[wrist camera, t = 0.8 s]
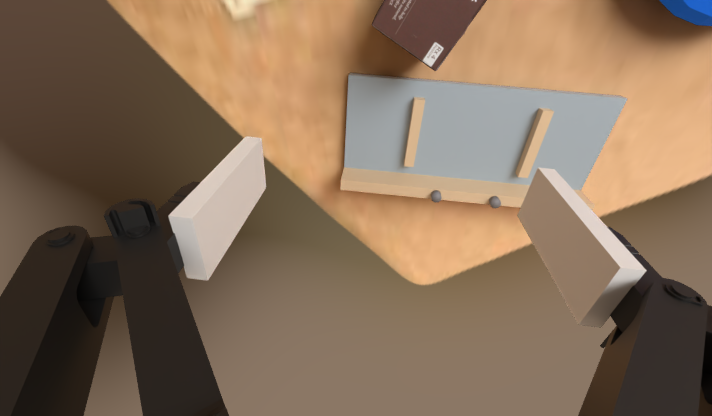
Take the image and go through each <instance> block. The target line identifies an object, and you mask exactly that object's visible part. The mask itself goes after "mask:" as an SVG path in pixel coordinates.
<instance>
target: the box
mask: <svg viewBox="0 0 712 416" xmlns="http://www.w3.org/2000/svg"><path fill="white" fill-rule="evenodd" d="M486 1H487V0H384V1H383V3H382V5H381V7H380V9H379V11H378V13H377V15H376V16H375V19H374V21H373V23H372V26H373V27H375V28H376V29H377V30H378V31H380V32H381V33H382V34H384V35H385V36H387V37H388V38H390V39H391V40H392V41H394V42H395V43H397V44H398V45H399V46H401V47H402V48H404V49H405V50H406V51H408V52H409V53H410V54H412V55H413V56H415V57H416V58H418V59H419V60H420V61H422V62H423V63H424V64H426V65H427V66H429V67H430V68H431V69H433V70H434V71H437V70H438V68H439V67H440V65H441V64H442V63H443V61H444V60H445V59H446V57H447V56H448V54H449V53H450V51H451V50H452V48H453V47H454V46H455V44H456V43H457V41H458V40H459V39H460V38H461V37H462V36H463V34H464V33H465V31H466V29H467V27H468V26H469V24H470V23H471V22H472V20H473V19H474V17H475V16H476V15H477V13H478V12H479V10H480V9H481V8H482V6H483V5H484V4H485V2H486Z"/></svg>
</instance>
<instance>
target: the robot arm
mask: <svg viewBox="0 0 712 416" xmlns="http://www.w3.org/2000/svg"><path fill="white" fill-rule="evenodd" d="M265 188H266V181H265V170H264V159H263V148H262V138H256V137H245V138H244V139H243V140H242V141H241V142H240V143H239V144H238V145H237V146H236V147H235V148H234V149H233V150H232V151H231V152H230V153H229V154H228V155H227V156H226V157H225V158H224V159H223V160H222V161H221V163H219V164H218V165H217V166H216V167H215V169H214V170H213V171H212V172H211V173H210V174H209V175H208V176H207V177H206V178H205V179H204V180H203V181H202V182H192V183H190V184H187V185H185V186H183V187H181V188H180V189H179V190H178V191H177V192H176V193H175V194H174V196H172V197H171V198H170V199H169V200H168V202H166V203H165V204H164V205H163V206H161V208H159V209H158V210H157V211H156V209H155V206H154V204H153V203H152V202H151V201H149V200H147V199H130V200H125V201H123V202H119V203H117V204H115V205H113V206H111V207H110V208H109V209H108V210H106V212H105V214H104V217H105V220H106V222H107V224H108V227H109V229H110V231H111V233H112V236H103V237H92V238H90V236H89V234H88V232H87V230H85V229H84V228H83V227H80V226H65V227H60V228H56V229H54V230H50V231H48V232H46V233H44V234H43V235H41V236H39V237H38V238H37V239H36V240H35V241H34V242H33V244H32V245H31V247H30V249H29V250H28V252H27V254H26V255H25V257H24V259H23V260H22V262H21V263H20V265H19V267H18V268H17V270H16V272H15V274H14V275H13V277H12V278H11V280H10V282H9V283H8V285H7V287H6V288H5V290H4V291H3V293H2V295H1V296H0V416H83V415H84V411H85V407H86V404H87V400H88V396H89V392H90V388H91V384H92V380H93V376H94V372H95V369H96V365H97V361H98V357H99V353H100V349H101V345H102V341H103V338H104V333H105V330H106V325H107V322H108V318H109V314H110V310H111V306H112V302H113V299H114V296H121V295H123V298H124V304H125V310H126V316H127V322H128V328H129V334H130V340H131V346H132V352H133V358H134V364H135V370H136V376H137V382H138V388H139V394H140V400H141V406H142V412H143V416H229V414H228V412H227V409H226V407H225V405H224V402H223V399H222V396H221V394H220V391H219V388H218V385H217V382H216V379H215V377H214V374H213V371H212V368H211V365H210V362H209V360H208V357H207V354H206V351H205V348H204V346H203V343H202V340H201V338H200V334H199V331H198V329H197V326H196V323H195V320H194V317H193V315H192V312H191V309H190V306H189V303H188V300H187V298H186V295H185V292H184V289H183V286H182V283H181V280H180V278H179V275H178V273H179V272H180V270H181V269H182V267H183V266H184V269H185V273H186V276H187V278H192V279H200V280H208V279H209V278H210V276H211V275H212V273H213V272H214V270H215V268H216V267H217V265H218V263H219V262H220V260H221V259H222V257H223V256H224V254H225V252H226V251H227V249H228V248H229V246H230V244H231V243H232V241H233V240H234V238H235V236H236V234H237V233H238V232H239V230H240V228H241V227H242V225H243V224H244V222H245V220H246V219H247V217H248V216H249V214H250V213H251V211H252V209H253V208H254V206H255V204H256V203H257V201H258V200H259V198H260V196H261V195H262V193H263V192H264V190H265ZM517 216H518V218H519V219H520V221H521V223H522V225H523V227H524V228H525V230H526V232H527V234H528V236H529V237H530V239H531V241H532V243H533V244H534V246H535V248H536V250H537V252H538V253H539V255H540V257H541V259H542V260H543V262H544V264H545V266H546V268H547V269H548V271H549V273H550V275H551V276H552V278H553V280H554V282H555V284H556V286H557V287H558V289H559V291H560V293H561V294H562V296H563V298H564V300H565V301H566V303H567V305H568V307H569V309H570V311H571V312H572V314H573V316H574V318H575V319H576V321H577V323H578V325H583V326H591V327H599V328H601V327H602V326H603V325H604V323H605V322H606V321H607V319H608V318H609V317H610V316H611V317H612V319H613V320H614V322H615V323H616V325H617V326H616V327H615V329H614V330H613V331H612V332H611V333H610V335H609V336H608V337H607V338H606V339H605V340H604V342H603V343H602V344H601V345H600V346H601V347H602V348H604V347H605V346H606V347H605V349H604V352H603V354H602V357H601V359H600V362H599V364H598V367H597V369H596V372H595V374H594V377H593V379H592V382H591V385H590V387H589V389H588V392H587V395H586V397H585V400H584V402H583V405H582V407H581V410H580V412H579V415H578V416H712V306H709V305H707V303H706V301H705V300H704V299H703V297H701V295H699V294H698V293H697V292H696V291H694V290H693V289H691V288H690V287H688V286H686V285H684V284H682V283H680V282H677V281H674V280H671V279H666V278H662V277H661V276H660V275H659V274H658V273H657V272H656V271H655V270H654V269H653V267H651V265H650V264H649V263H648V262H647V261H646V260H645V259H644V258H643V257H642V256H641V255H639V254H638V251H637V250H635V248H634V247H631V244H630V243H629V242H628V241H627V240H626V239H625V238H624V237H623V236H622V235H621V234H619V233H618V232H616V231H615V230H613V229H612V228H610V227H607V226H606V225H605V224H604V223H603V222H602V221H601V220H600V219H599V218H598V217H597V215H596V214H595V213H594V212H593V211H592V210H591V209H590V208H589V207H588V206H587V204H586V203H585V202H584V201H583V200H582V199H581V198H580V197H579V196H578V195H577V193H576V192H575V191H574V190H573V189H572V188H571V187H570V186H569V185H568V184H567V182H566V181H565V180H564V179H563V178H562V177H561V176H560V175H559V174H558V173H557V171H556V170H555V169H548V168H537V171H536V173H535V175H534V178H533V180H532V182H531V185H530V187H529V189H528V192H527V194H526V196H525V198H524V201H523V203H522V205H521V208H520V210H519V212H518V215H517Z"/></svg>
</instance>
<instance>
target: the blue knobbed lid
mask: <svg viewBox="0 0 712 416" xmlns="http://www.w3.org/2000/svg"><path fill="white" fill-rule="evenodd" d="M659 1H660V2H661V3H662V4H663V5H664V6H665V7H666V8H667V9H668V10H669V11H670V12H671V13H672V14H673V15H674V16H677V17H679V18H681V19H684V20H686V21H688V22H691V23H693V24H695V25H703V26H712V0H659Z"/></svg>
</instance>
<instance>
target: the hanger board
mask: <svg viewBox="0 0 712 416" xmlns="http://www.w3.org/2000/svg"><path fill="white" fill-rule="evenodd" d="M626 101H627V98H625V97H622V96H616V95H604V94H592V93H581V92H569V91H557V90H545V89H534V88H522V87H510V86H498V85H487V84H475V83H463V82H452V81H440V80H428V79H416V78H405V77H393V76H381V75H369V74H358V73H349V77H348V98H347V118H346V139H345V160H344V170H343V173H342V177H341V186H340V190H347V191H357V192H367V193H378V194H388V195H398V196H408V197H418V198H428V199H432V201H433V202H439V201H441V200H448V201H458V202H468V203H478V204H488V205H491V207H492V208H498V207H500V206H508V207H519V208H521V205H522V203H523V201H524V198H525V196H526V194H527V192H528V189H529V187H530V185H531V182H532V180H533V178H534V175H535V173H536V171H537V168H548V169H555V170H556V171H557V173H558V174H559V175H560V176H561V177H562V178H563V179H564V180H565V181H566V182H567V184H568V185H569V186H570V187H571V188H572V189H573V190H574V191H575V192H576V193H577V195H578V196H579V197H580V198H581V199H582V200H583V201H584V202H585V203H586V204H587V206H588V207H589V208H590V209H591V210H593V208H594V206H595V204H594V203H593V202H592V201H591V200H590V199H589V198H588V197H587V196H586V195H585V194H584V193H583V192H582V191H581V189H582V187H583V185H584V183H585V181H586V179H587V177H588V175H589V173H590V171H591V169H592V167H593V165H594V163H595V161H596V159H597V158H598V156H599V154H600V152H601V150H602V148H603V146H604V144H605V142H606V140H607V138H608V136H609V134H610V132H611V130H612V128H613V126H614V124H615V122H616V120H617V118H618V116H619V114H620V112H621V110H622V108H623V106H624V105H625V103H626Z"/></svg>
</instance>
